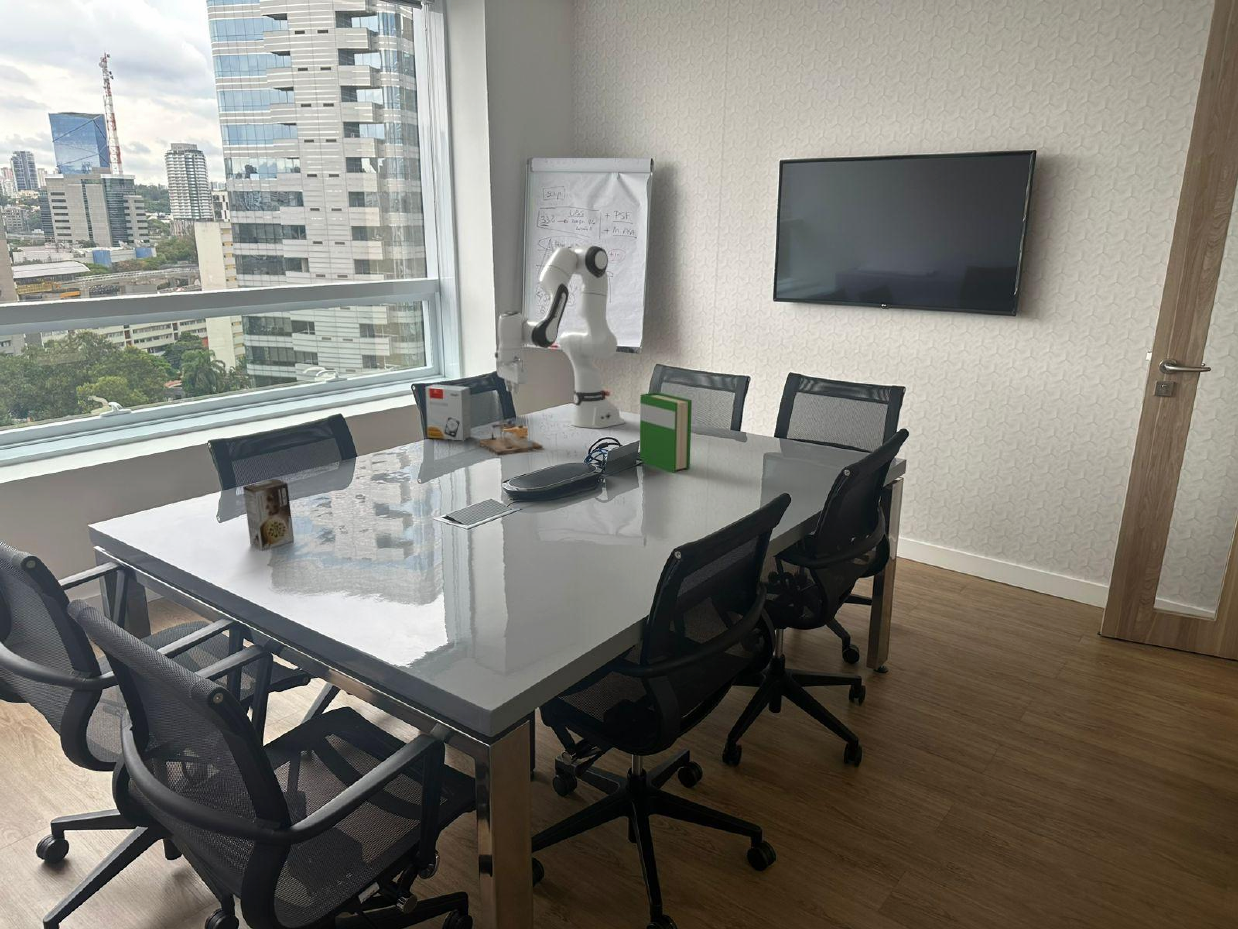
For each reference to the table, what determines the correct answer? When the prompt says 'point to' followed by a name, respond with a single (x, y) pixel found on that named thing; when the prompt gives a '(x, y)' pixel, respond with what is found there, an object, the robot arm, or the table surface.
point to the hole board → (505, 445)
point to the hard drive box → (448, 412)
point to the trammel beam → (512, 434)
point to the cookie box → (268, 514)
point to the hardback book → (665, 431)
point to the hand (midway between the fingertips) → (512, 392)
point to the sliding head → (516, 432)
